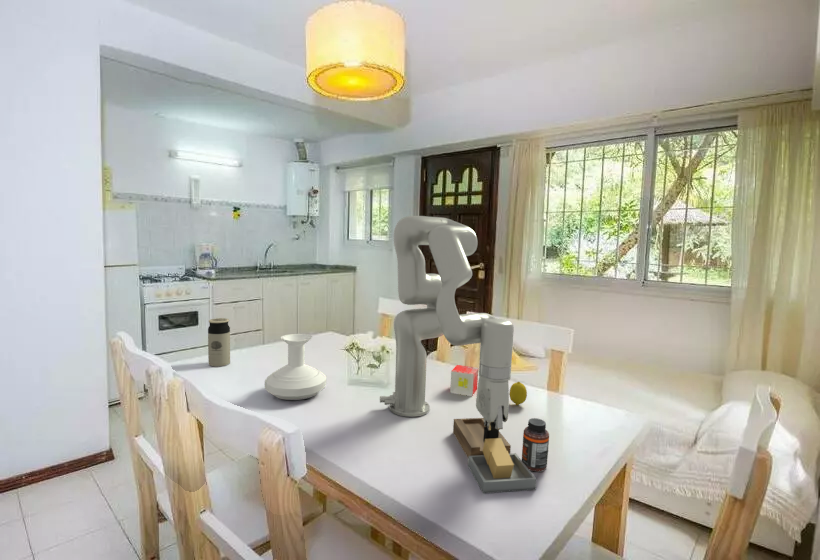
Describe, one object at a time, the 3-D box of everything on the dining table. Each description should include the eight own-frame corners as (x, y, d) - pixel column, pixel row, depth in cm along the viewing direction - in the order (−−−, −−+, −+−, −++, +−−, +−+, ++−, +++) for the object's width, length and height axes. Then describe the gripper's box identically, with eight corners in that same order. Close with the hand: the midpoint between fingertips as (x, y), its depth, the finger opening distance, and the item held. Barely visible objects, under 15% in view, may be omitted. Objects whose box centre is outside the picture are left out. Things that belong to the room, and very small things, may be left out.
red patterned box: (450, 392, 149) (451, 371, 148) (455, 385, 157) (456, 364, 156) (472, 396, 147) (473, 374, 146) (477, 389, 154) (478, 367, 153)
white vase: (323, 381, 156) (323, 329, 154) (329, 402, 137) (330, 343, 135) (265, 385, 150) (265, 331, 148) (264, 408, 131) (264, 346, 129)
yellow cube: (487, 464, 100) (490, 452, 98) (482, 451, 103) (485, 438, 102) (503, 463, 101) (506, 451, 99) (498, 450, 104) (501, 438, 102)
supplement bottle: (517, 459, 106) (520, 415, 105) (541, 459, 106) (544, 415, 105) (526, 473, 100) (529, 426, 99) (550, 472, 101) (554, 426, 99)
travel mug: (216, 360, 176) (215, 317, 174) (234, 361, 175) (233, 318, 173) (204, 366, 168) (203, 321, 166) (223, 367, 167) (222, 322, 165)
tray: (483, 493, 92) (483, 482, 91) (467, 465, 102) (468, 455, 102) (535, 489, 94) (536, 478, 93) (515, 462, 104) (515, 453, 104)
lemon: (526, 409, 137) (528, 385, 136) (509, 407, 138) (510, 383, 137) (525, 403, 142) (527, 379, 142) (508, 401, 144) (509, 378, 143)
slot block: (470, 463, 103) (471, 447, 103) (453, 432, 119) (453, 418, 119) (509, 461, 105) (510, 445, 105) (487, 431, 121) (488, 417, 120)
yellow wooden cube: (488, 464, 100) (493, 478, 96) (491, 451, 98) (496, 465, 95) (504, 463, 101) (510, 477, 97) (507, 450, 99) (513, 464, 95)
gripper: (470, 361, 109) (466, 430, 111) (491, 382, 94) (486, 460, 96) (498, 361, 110) (494, 429, 112) (522, 381, 96) (517, 458, 98)
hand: (490, 443), depth 104 cm, fingers closed
